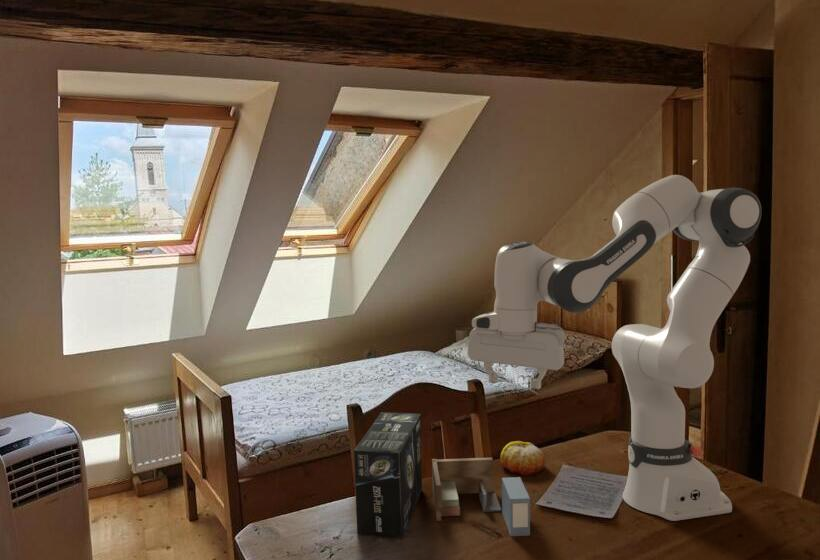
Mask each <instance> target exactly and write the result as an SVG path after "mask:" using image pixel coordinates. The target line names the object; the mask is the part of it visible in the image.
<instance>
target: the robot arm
mask: <svg viewBox="0 0 820 560" xmlns="http://www.w3.org/2000/svg"><path fill="white" fill-rule="evenodd" d="M761 220H762V204H761V201H760V199H759V198H758V195H756V194H755V193H754V192H752V191H751V190H748V189H745V188H741V187H727V188H718V189H710V190H709V189H708V190H706V191H702V192H700V191H698V189H697V187H696V186H695V184H694V182H692V180H690V179H689V178H687V177H686V176H684V175H679V174H671V175H668V176H665V177H663V178H660V179H658V180H657V181H654V182H652V183H649V184H648V185H647V186H645V187H643V188H641V189H640V190H639V191H637V192H635V193H633V194H632V195H631V196H630V197H628V198H626V200H625V201H623V202H622V203H621V204H620V205H619V206H618V207H617V208H616V209H615V210H614V211H613V214H612V221H611V223H612V229H613V231H614V234H615V237H614V238H612V239H611V240H610V241H609V242H608V243H606V244H605V245H604V246H602V248H600V249H598V250H597V252H595V253H593V255H591V256H590V257H588V258H584V259H576V260H573V259H566V258H562V257H559V256H556V255H553V254H551V253H548V252H546V251H545V250H543V249H540V248H539V247H538V246H536V245H535V243H533V242H530V241H521V242H520V241H519V242H512V243H509V244H505V245H503V246H502V247H501V248H500V249H499V250H498V251H497V255H496V259H495V264H494V276H493V279H494V281H493V282H494V283H493V284H494V289H495V299H494V300H495V301H494V304H493V311H489V312H486V313H483V314H479V315H478V316H475V317H474V318H472V320H471V326H472V328H473V329H471V331H470V332H469V335H468V340H467V341H468V343H467V356H468V358H469V360H471V361H474V362H481V363H483V368H484V370H485V371H486V373H487V376H488V383H490V384H497V383H498V382H499V374H498V373H497V372H496V373H495V371H494V369H493V367H492V366H494V364H499V365H507V366H517V367H525V368H533V369H536V373H537V374H538V377H536V378H533V379H532V380H531V389H533V390H540V389H542V379H543V378H544V377H545V375H546V374H547V372H548V370H549V371H558V370H559V369H561V368H562V367H563V366H564V364H565V352H564V351H565V350H564V349H565V348H564V344H565V340H566V336H565V335H566V334H565V331H564V329H563V328H562V327H561V326H560V325H558V324H556V323H546V322H545V323H544V322H540V321H539V322H538V303H539V302H547V303H549V304H551V305H554V306H557V307H559V308H561V309H562V310H565V311H566V312H570V313H576V314H577V313H583V312H586V311H588V310H590V309H591V308H593V306H595V304H597V303H598V301H599V300H600V298H601V297H602V295H603V294H604V293H605V291H606V290H607V288H608V287H609V286H610V284H612V283H613V282H614V281H615V280H616V279H617V278H619V277H620V276H621V275H622V274H623V273H624V272H626V271H627V270H628V269H629V268H630V267H631V266H633V265H634V264H635V263H636V262H637V261H638V260H640V259H642V257H643V256H644V255H645V254H646V253H648V252H649V250H650V249H651V248H652V247H653V246H654V244H656V243H657V242H658V241H660V240H661V239H663V238H664V237H665V236H667V235H668V234H670V232H673V233H674V234H675V235H676V236H678V237H679V238H681V239H683V240H686V241H688V242H689V241H690V242H698V248H697V252H696V254H695V256H694V258H693V259H692V261H691V262H690V263H689V264H688V266H687V267H686V269H685V270H684V272H683V273H682V274H681V276H680V277H679V278H678V280H677V282H676V283H675V284H674V286H672V289H671V290H670V292H669V293H668V295H667V296H666V305H667V307H668V309H669V317H668V320H667V322H666V323H665V325H664V326H663V328H662V327H656V326H652V325H649V324H645V323H635V324H634V323H633V324H626V325H623V326H622V327H620V328H619V329H618V330H617V331H616V332H615V333H614V335H613V337H612V341H611V352H612V355H613V357H614V358H615V360H616V361H617V363H618V365H619V366H620V369H621V370H622V373H623V377H624V380H625V383H626V386H627V387H626V388H627V391H628V395H629V400H630V411H631V412H630V413H631V414H630V415H631V416H630V419H631V420H630V421H631V422H630V424H631V429H630V431H631V434H630V436H629V438H628V441H629V442H628V447H627V448H628V449H627V451H628V454H627V455H628V462H629V465H628V473H627V478H626V483H625V486H624V490H623V493H622V499H623V501H624V502H625V504H627V505H628V506H630V507H632V508H633V509H636V510H637V511H641V512H644V513H647V514H651V515H655V516H658V517H660V518H663V519H665V520H668V521H673V522H675V521H676V522H677V521H682V520H683V521H685V520H690V519H696V518H703V517H709V516H710V517H711V516H716V515H723V514H729V513H732V511H733V503H732V501H731V500H730V498H729V497H728V496H727V495H726V494H725V493H724V492H723V491H721V487H720V483H719V480H718V478H717V477H716V475H715V474H714V472H713V471H711V470H710V469H709V468H708V467H707V466H705V465H704V464H703V463H701V462H700V461H699V460H697V459H696V458H700V457H701V455H703V454H702V453H703V450H702V449H701V448H699V447H698V446H697V445H693V444H692V443H691V442H690V441H689V440H687V439H685V436H686V409H685V405H684V403H683V402H682V400H681V398H680V397H679V396H678V394H677V391H676V390H675V387H676V388H683V389H697V388H700V387H702V386H703V385H705V384H706V383H707V382H708V381H709V379H710V377H711V376H712V374H713V372H714V368H715V360H714V359H715V358H714V355H713V352H712V351H711V347H710V346H711V345H710V342H711V336H712V332H713V329H714V327H715V324H716V322H717V321H718V319H719V317H720V316H721V314H722V313H723V311H724V310H725V308H726V307H727V306H728V303H729V302H730V300H731V299H732V297H733V296H734V294H735V293H736V291H737V290H738V288H739V286H740V285H741V282H742V281H743V279H744V277H745V275H746V273H747V270H748V268H749V265H750V263H751V254H750V252H749V250H748V248H747V247H746V246H745V245H747V244H749V243H750V242H751V241H753V239H754V237H755V233H756V231H757V229H758V227H759V225H760V222H761ZM693 456H694V457H693ZM695 457H696V458H695Z"/></svg>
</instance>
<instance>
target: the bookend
mask: <svg viewBox="0 0 820 560" xmlns="http://www.w3.org/2000/svg"><path fill="white" fill-rule="evenodd" d="M478 498H479V501H480V504H481V505H480V506H481V507H482V511H483V513H488V512H490V513H491V512H493V513H494V512H502V506H501V504H500V502H499V499H498V496H497V493H496V492H489V493H486V491H485V488H484V485H483V482H482V479H479V493H478Z"/></svg>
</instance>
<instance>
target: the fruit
mask: <svg viewBox="0 0 820 560" xmlns="http://www.w3.org/2000/svg"><path fill="white" fill-rule="evenodd" d="M544 454H545V453H544V452H543V450H542V449H540V448H539V447H537V446H535V445H534V444H533V442H527V441H526V442H524V441H521V440H515V441H510V442H509V443H507V444H506V445H505V446H504V447H503V448H502V450H501V453H500V457H499V458H500V464H501V466H502V468H504V469H505V470H507V471H510V473H512V474H513V473H514V474H520V475H521V476H531V475H534V474H535V475H536V474H538V473H539V472H540V471H542V469H544V467H545V465H546V457H545V455H544Z"/></svg>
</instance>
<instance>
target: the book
mask: <svg viewBox="0 0 820 560" xmlns="http://www.w3.org/2000/svg"><path fill="white" fill-rule="evenodd" d="M501 512H502V516H503V519H504V522H505V524H506V527H507V530H508V533H509V536H510V537H522V536H523V537H524V536H525V537H526V536H531V498H530V496H529V493H528V491H527V489H526V487H525V485H524V482H523V481H522V477H520V476H517V477H511V476H510V477H501Z"/></svg>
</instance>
